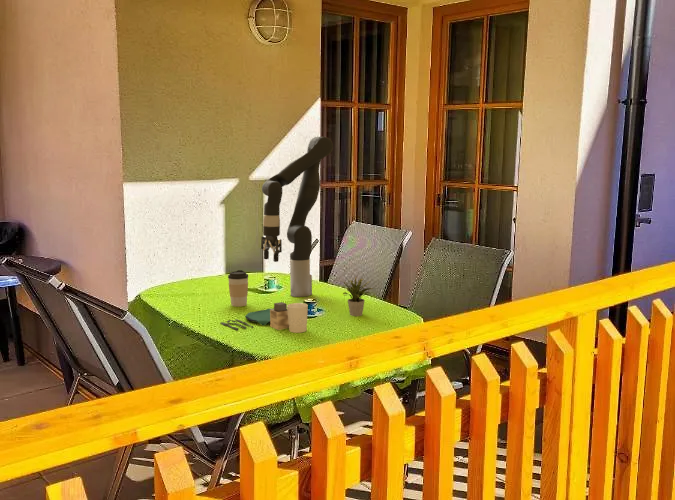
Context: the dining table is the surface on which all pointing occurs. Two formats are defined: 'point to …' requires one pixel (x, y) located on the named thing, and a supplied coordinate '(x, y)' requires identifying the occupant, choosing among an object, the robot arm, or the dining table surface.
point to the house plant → (356, 298)
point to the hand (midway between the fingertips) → (271, 260)
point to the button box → (279, 319)
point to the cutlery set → (252, 318)
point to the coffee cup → (238, 288)
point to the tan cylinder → (297, 317)
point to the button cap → (280, 306)
